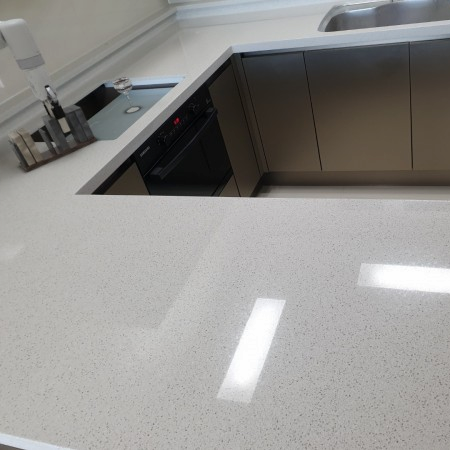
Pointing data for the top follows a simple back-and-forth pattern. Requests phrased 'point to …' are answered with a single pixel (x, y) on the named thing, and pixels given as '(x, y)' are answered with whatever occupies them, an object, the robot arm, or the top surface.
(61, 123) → the cream book
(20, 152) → the book shelf
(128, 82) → the wineglass
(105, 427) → the top surface
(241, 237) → the top surface
